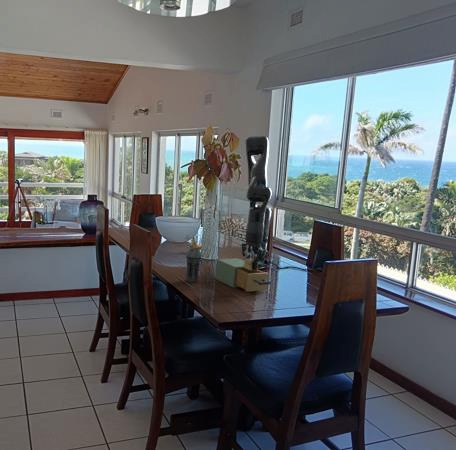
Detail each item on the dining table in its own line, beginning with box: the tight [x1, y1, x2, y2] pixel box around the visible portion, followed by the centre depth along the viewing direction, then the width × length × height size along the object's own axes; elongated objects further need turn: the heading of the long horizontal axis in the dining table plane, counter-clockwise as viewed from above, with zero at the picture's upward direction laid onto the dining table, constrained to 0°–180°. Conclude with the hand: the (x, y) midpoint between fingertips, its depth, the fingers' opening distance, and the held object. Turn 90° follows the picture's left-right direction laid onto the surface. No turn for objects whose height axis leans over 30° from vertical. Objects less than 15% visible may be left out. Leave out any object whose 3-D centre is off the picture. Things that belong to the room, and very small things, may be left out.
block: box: [243, 257, 259, 270], centre depth 206 cm, size 4×4×4 cm
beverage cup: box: [185, 238, 203, 283], centre depth 212 cm, size 7×7×20 cm
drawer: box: [235, 268, 271, 293], centre depth 205 cm, size 18×11×8 cm, turn 26°
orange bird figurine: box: [184, 234, 203, 251], centre depth 273 cm, size 7×18×11 cm, turn 84°
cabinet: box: [214, 257, 245, 288], centre depth 216 cm, size 15×13×10 cm
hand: (250, 268), depth 206 cm, fingers closed on block, 4 cm apart
